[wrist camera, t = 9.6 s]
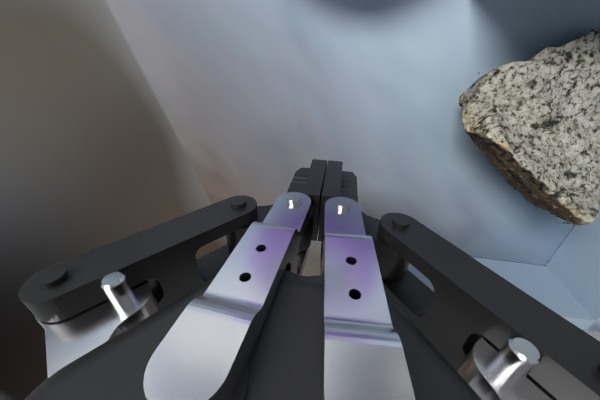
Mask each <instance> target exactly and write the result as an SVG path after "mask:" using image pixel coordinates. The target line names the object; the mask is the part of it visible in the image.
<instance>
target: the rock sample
mask: <svg viewBox="0 0 600 400" xmlns="http://www.w3.org/2000/svg"><path fill="white" fill-rule="evenodd" d="M510 37H511V36H510ZM541 46H542V45H541ZM479 73H480V72H479ZM479 73H478V74H479ZM459 105H460V106H461V107H462V124H463V125H464V129H465V131H466V133H467V134H468V135H470V136H471V138H472V140H473V142H474V143H475V144H476V145H477V146H478V147H479V149H480V150H481V151H482V152H484V154H485V157H486V158H487V159H488V160H489V161H490V163H491V164H492V165H493V166H495V167H496V168H497V169H498V170H499V172H500V173H501V174H502V175H503V176H504V177H505V178H506V179H507V182H508V183H509V184H511V185H512V186H513V187H514V189H515V190H517V189H518V191H519V192H521V193H522V195H523V196H524V198H526V199H527V201H528V202H531V203H533V204H534V206H537V207H540V208H543V209H545V210H547V211H549V212H550V213H551V214H554V215H555V216H556V217H560V218H561V219H563V220H566V221H567V224H569V223H570V224H573V225H576V226H579V225H586V224H592V223H593V222H594V221H595V219H596V218H597V217H598V214H599V206H600V28H598V29H594V30H593V29H592V30H590V31H589V33H587V34H586V35H584V36H581V37H577V38H575V39H574V40H573V41H571V42H569V43H567V44H565V45H563V46H560V47H546V48H545V49H543V50H542V51H540V52H539V53H538V54H537V55H535V56H534V57H532V58H531V59H530V60H528V61H515V62H510V63H506V64H502V65H500V66H499V67H497V68H496V69H493V70H492V71H491V72H489V73H487V74H485V75H484V76H482V77H481V78H479V79H478V80H477V81H476V82H475V83H474V84H473V85H472V86H471V87H470V88H469V89H468V90H467V91H466V92H464V93H463V94H462V95H461V96H460V98H459ZM460 114H461V113H460ZM564 223H565V222H564ZM558 224H559V222H558Z"/></svg>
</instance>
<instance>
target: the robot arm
mask: <svg viewBox="0 0 600 400" xmlns="http://www.w3.org/2000/svg"><path fill="white" fill-rule="evenodd" d="M342 163H343V162H340V161H328V165H327V160H316V159H313V160H312V163H311V167H310V168H300V169H299V170H297V171H296V172H295V175H294V178H293V180H292V182H291V184H290V187H289V189H288V191H287V193H284V194H282V195H280V196H279V197H278V198H277V200H276V202H275V203H274V205H269V206H259V207H257V202H256V200H255V199H253V198H252V197H249V196H234V197H231V198H228V199H225V200H223V201H220V202H217V203H215V204H212V205H209V206H207V207H204V208H202V209H199V210H196V211H194V212H191V213H188V214H186V215H183V216H180V217H178V218H175V219H173V220H170V221H167V222H165V223H162V224H159V225H157V226H154V227H151V228H149V229H146V230H144V231H141V232H138V233H136V234H133V235H130V236H128V237H125V238H122V239H120V240H117V241H115V242H112V243H109V244H107V245H104V246H101V247H99V248H96V249H93V250H91V251H88V252H86V253H83V254H80V255H78V256H75V257H72V258H70V259H67V260H64V261H62V262H59V263H57V264H54V265H51V266H49V267H47V268H45V269H43V270H41V271H39V272H38V273H36V274H35V275H33V276H32V277H31V278H30V279H28V280H27V281H26V282H25V283H24V284H23V285H22V287H21V288H20V291H19V295H18V296H19V298H20V300H21V301H22V302H23V303H24V304H25V305H26V306H27V307H28V308H29V309H30V311H31V312H33V314H34V315H35V316H36V320H37V321H38V322H39V323H40V324H41V326H42V327H43V328H44V329H45V337H46V354H47V371H48V379H46V380H45V381H44V382H43V383H42V384H41V385H39V386H38V387H37V388H36V389H35V390H34V391H33V392H32V393H31V394H30V395H29V396H28V397H27V398H26V399H25V400H600V342H599V341H598V340H596V339H595V338H593V337H592V336H590V335H589V334H587V333H586V332H584V331H583V330H581V329H580V328H578V327H577V326H575V325H574V324H572V323H571V322H569V321H568V320H566V319H565V318H563V317H562V316H560V315H559V314H557V313H556V312H554V311H553V310H551V309H549V308H548V307H546V306H545V305H543V304H542V303H540V302H539V301H537V300H536V299H534V298H533V297H531V296H530V295H528V294H527V293H525V292H524V291H522V290H521V289H519V288H518V287H516V286H515V285H513V284H512V283H510V282H509V281H507V280H506V279H504V278H503V277H501V276H500V275H498V274H497V273H495V272H494V271H492V270H491V269H489V268H488V267H486V266H484V265H483V264H481V263H480V262H478V261H477V260H475V259H474V258H472V257H471V256H469V255H468V254H466V253H465V252H463V251H462V250H460V249H459V248H457V247H456V246H454V245H453V244H451V243H450V242H448V241H447V240H445V239H444V238H442V237H441V236H439V235H438V234H436V233H435V232H433V231H432V230H430V229H429V228H427V227H426V226H424V225H423V224H421V223H419V222H418V221H416V220H415V219H413V218H412V217H410V216H407V215H404V214H400V213H388V214H385V215H384V216H382V217H381V220H378V219H375V218H372V217H370V216H367V215H366V214H364V213H363V212H362V211H361V207H360V205H359V204H358V198H357V177H356V176H355V175H354V174H353V173H352V172H345V171H342ZM318 229H319V235H318ZM225 235H226V239H227V245H225V246H223V247H221V248H219V249H217V250H215V251H213V252H211V253H209V254H207V255H205V256H203V257H201V258H199V259H196V258H195V255H196V252H197V250H198V249H199V248H200V247H201V246H204V245H205V244H208V243H210V242H212V241H214V240H216V239H218V238H220V237H223V236H225ZM317 235H318V241H322V244H321V255H320V276H301V275H302V272H303V269H304V266H305V263H306V259H307V256H308V252H309V246H310V244H311V240H315V241H317ZM409 263H410V264H411V265H412V266H413V267H415V268H416V269H417V270H418V271H419V272H421V273H422V274H423V275H424V276H425V277H427V278H428V279H429V280H430V282H431V283H432V285H433V288H434V292H433V291H432V290H431V289H430V288H429V287H428V286H426V285H425V284H424V283H423V282H422V281H421V280H419V279H418V278H417V277H416V276H415V275H414V274H412V273H411V272H410V271H409V270H408V266H409ZM386 298H387V299H386Z"/></svg>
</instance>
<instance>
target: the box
mask: <svg viewBox="0 0 600 400" xmlns="http://www.w3.org/2000/svg"><path fill="white" fill-rule="evenodd" d="M472 258H474V259H475V260H477V261H478V262H480V263H481V264H483V265H484V266H486V267H488V268H489V269H491V270H492V271H494V272H495V273H497V274H498V275H500V276H501V277H503V278H504V279H506V280H507V281H509V282H510V283H512V284H513V285H515V286H516V287H518V288H519V289H521V290H522V291H524V292H525V293H527V294H528V295H530V296H531V297H533V298H534V299H536V300H537V301H539V302H540V303H542V304H543V305H545V306H546V307H548V308H549V309H551V310H553V311H554V312H556V313H557V314H559V315H560V316H562V317H563V318H565V319H566V320H568V321H569V322H571V323H572V324H574V325H575V326H577V327H578V328H580V329H583V330H590V331H597V332H600V206H599V214H598V217H597V218H596V219H595V221H594V222H593V223H592V224H586V225H579V226H576V225H575V226H574V227H573V229H572V230H571V231H570V233H569V234H568V236H567V237H566V238H565V240H564V241H563V243H562V244H561V245H560V247H559V248H558V249H557V251H556V252H555V254H554V255H553V256H552V258H551V259H550V261H549V262H548V263H547V265H546V266H541V265H533V264H524V263H516V262H508V261H500V260H492V259H483V258H475V257H472ZM408 270H409V271H410V272H411V273H412V274H414V275H415V276H416V277H417V278H418V279H419V280H421V281H422V282H423V283H424V284H425V285H426V286H428V287H429V288H430V289H431V290H432V291H433V292H434V288H433V285H432V283H431V282H430V280H429V279H428V278H427V277H425V276H424V275H423V274H422V273H421V272H419V271H418V270H417V269H416V268H415V267H413V266H412V265H411V264H410V263H409V266H408Z"/></svg>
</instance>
